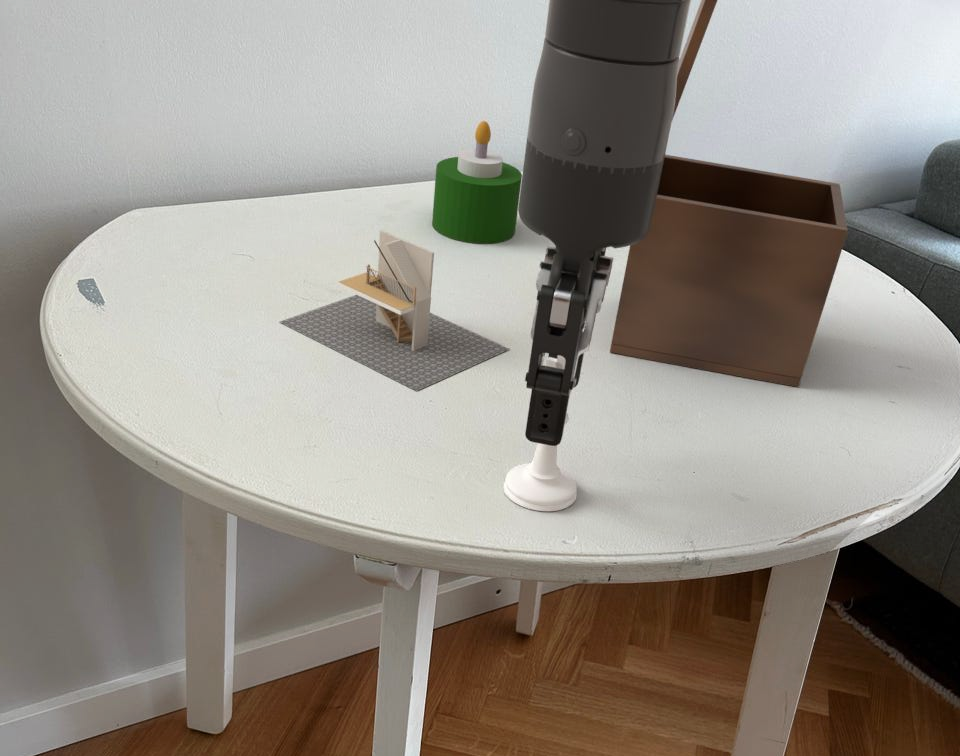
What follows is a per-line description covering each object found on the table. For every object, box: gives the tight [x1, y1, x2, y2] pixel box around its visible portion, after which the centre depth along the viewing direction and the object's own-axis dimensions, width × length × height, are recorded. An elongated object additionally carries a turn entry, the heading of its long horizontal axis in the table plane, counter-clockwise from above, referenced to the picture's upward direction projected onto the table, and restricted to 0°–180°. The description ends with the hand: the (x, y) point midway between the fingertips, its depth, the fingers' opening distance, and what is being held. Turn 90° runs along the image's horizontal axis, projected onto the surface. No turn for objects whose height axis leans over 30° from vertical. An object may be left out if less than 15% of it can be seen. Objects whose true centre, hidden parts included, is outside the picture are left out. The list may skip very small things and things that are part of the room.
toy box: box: [609, 154, 849, 388], centre depth 91 cm, size 16×12×13 cm
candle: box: [431, 120, 523, 245], centre depth 107 cm, size 8×8×10 cm
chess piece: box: [502, 355, 578, 512], centre depth 71 cm, size 5×5×10 cm
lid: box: [672, 0, 718, 121], centre depth 82 cm, size 16×12×1 cm
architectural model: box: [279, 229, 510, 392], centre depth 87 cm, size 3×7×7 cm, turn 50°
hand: (552, 410), depth 70 cm, fingers open, 7 cm apart
